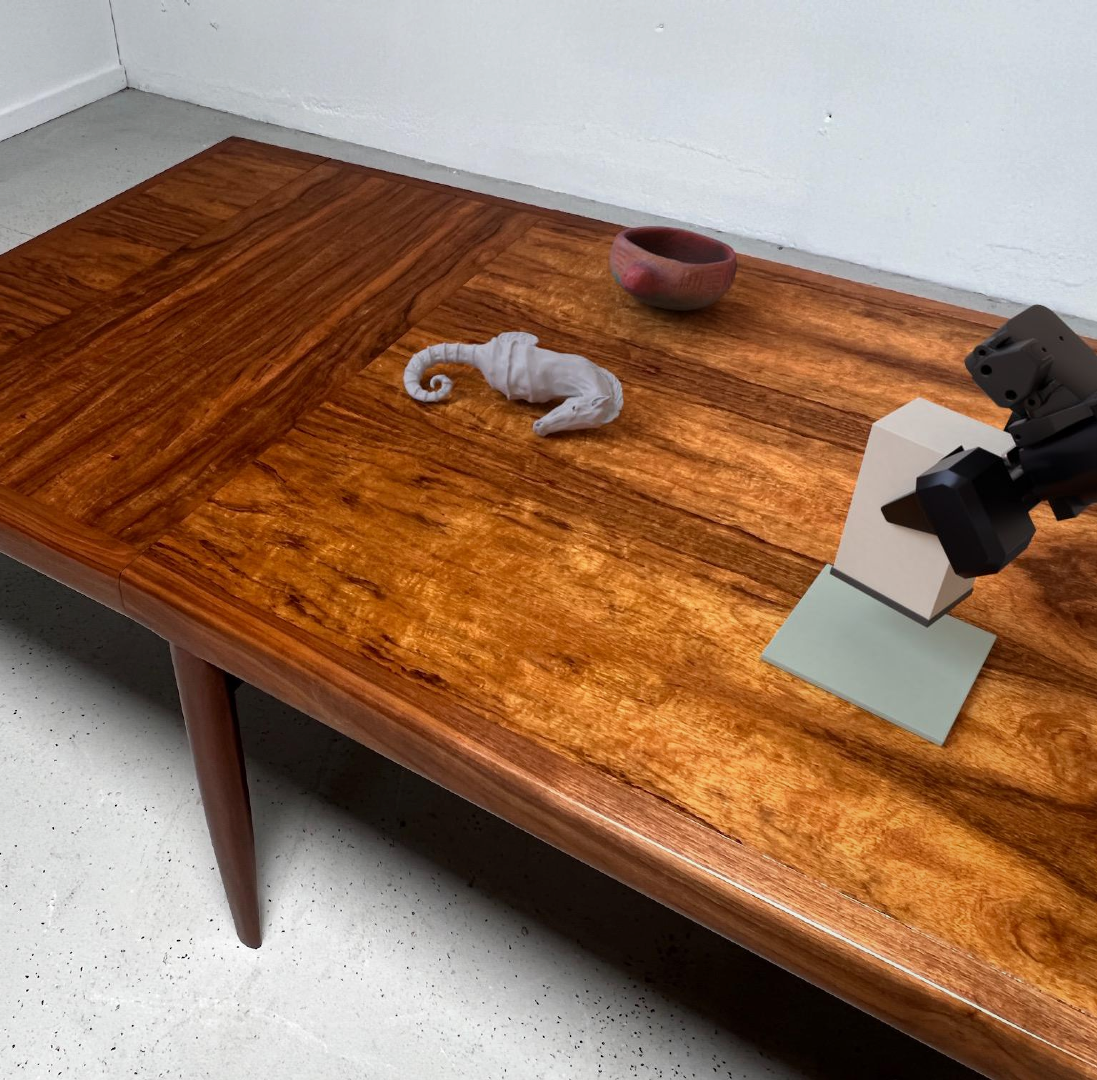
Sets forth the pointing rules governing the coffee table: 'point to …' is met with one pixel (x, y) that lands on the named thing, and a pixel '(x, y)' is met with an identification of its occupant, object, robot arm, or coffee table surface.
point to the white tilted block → (895, 551)
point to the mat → (881, 656)
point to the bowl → (672, 267)
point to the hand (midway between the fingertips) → (907, 497)
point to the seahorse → (527, 379)
